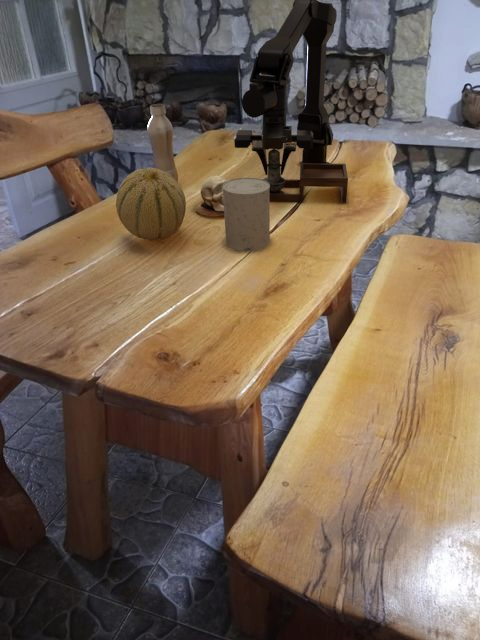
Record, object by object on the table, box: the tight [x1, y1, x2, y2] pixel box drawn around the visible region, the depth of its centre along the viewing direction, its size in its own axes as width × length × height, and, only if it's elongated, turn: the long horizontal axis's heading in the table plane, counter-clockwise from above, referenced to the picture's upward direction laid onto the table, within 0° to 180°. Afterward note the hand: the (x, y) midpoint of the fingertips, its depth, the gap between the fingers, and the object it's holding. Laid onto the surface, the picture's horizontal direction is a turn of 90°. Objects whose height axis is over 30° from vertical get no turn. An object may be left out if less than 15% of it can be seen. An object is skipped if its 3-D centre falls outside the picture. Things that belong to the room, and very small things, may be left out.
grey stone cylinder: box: [222, 177, 271, 253], centre depth 114 cm, size 10×10×12 cm
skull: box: [194, 175, 228, 217], centre depth 131 cm, size 12×10×10 cm
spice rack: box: [261, 162, 349, 204], centre depth 138 cm, size 23×11×6 cm, turn 86°
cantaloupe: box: [115, 167, 187, 242], centre depth 115 cm, size 15×15×15 cm
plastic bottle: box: [146, 103, 179, 183], centre depth 139 cm, size 6×7×20 cm
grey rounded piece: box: [262, 149, 286, 193], centre depth 136 cm, size 6×6×12 cm
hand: (274, 174), depth 137 cm, fingers closed on grey rounded piece, 3 cm apart
